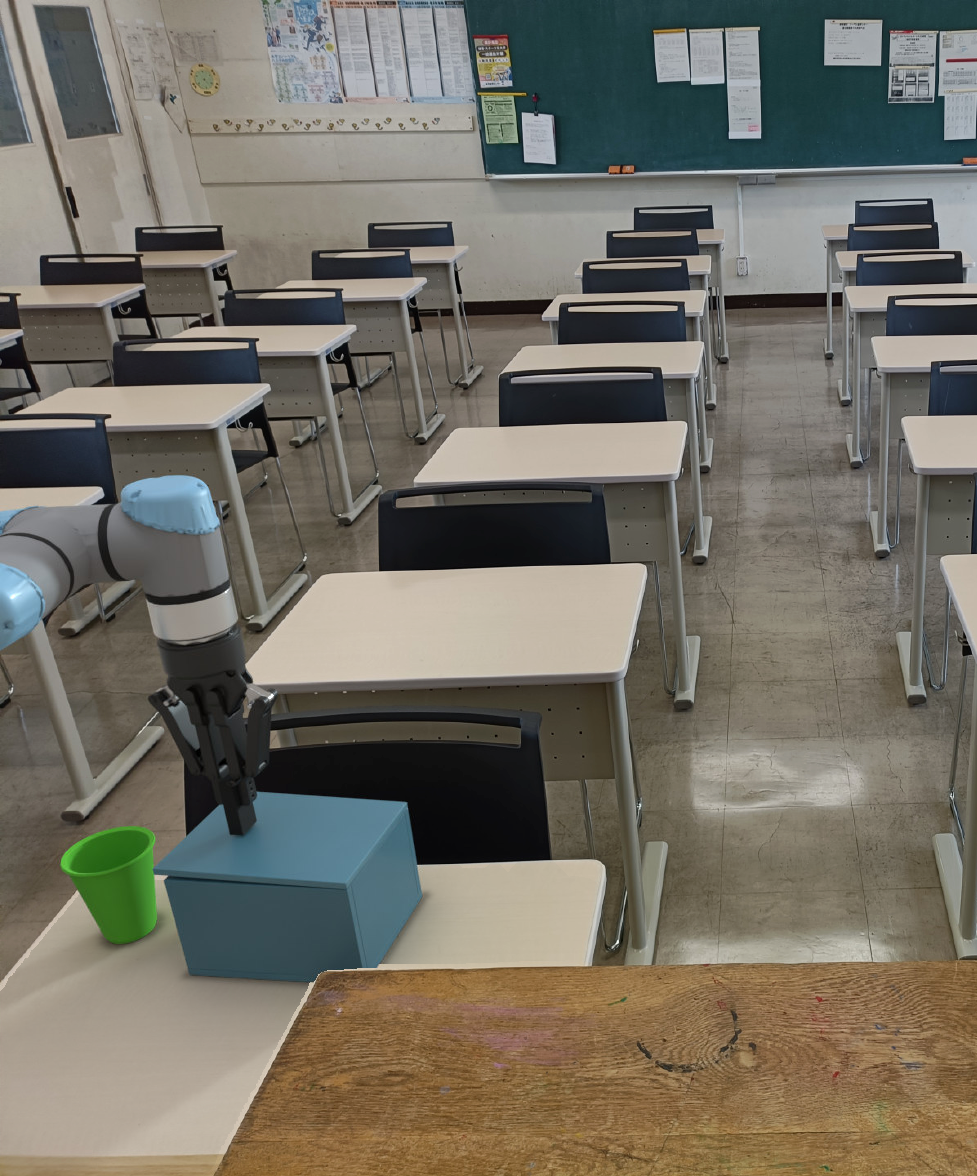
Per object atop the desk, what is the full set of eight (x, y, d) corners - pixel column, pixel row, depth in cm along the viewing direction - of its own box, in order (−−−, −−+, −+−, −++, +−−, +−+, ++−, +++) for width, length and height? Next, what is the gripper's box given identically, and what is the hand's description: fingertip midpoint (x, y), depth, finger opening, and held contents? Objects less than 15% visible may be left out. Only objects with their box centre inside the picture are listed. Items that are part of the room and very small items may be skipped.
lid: (153, 875, 108) (152, 868, 107) (235, 795, 121) (234, 789, 121) (346, 889, 106) (345, 883, 106) (407, 807, 120) (407, 801, 120)
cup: (127, 964, 114) (102, 881, 110) (65, 946, 117) (39, 865, 113) (194, 913, 122) (173, 834, 118) (135, 897, 125) (113, 819, 120)
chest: (189, 975, 112) (163, 880, 108) (264, 887, 126) (244, 800, 122) (365, 985, 111) (346, 890, 106) (422, 896, 124) (408, 808, 120)
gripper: (280, 617, 108) (318, 811, 117) (160, 613, 109) (207, 805, 118) (238, 648, 101) (282, 851, 110) (111, 643, 102) (165, 845, 111)
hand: (243, 827), depth 114 cm, fingers closed
